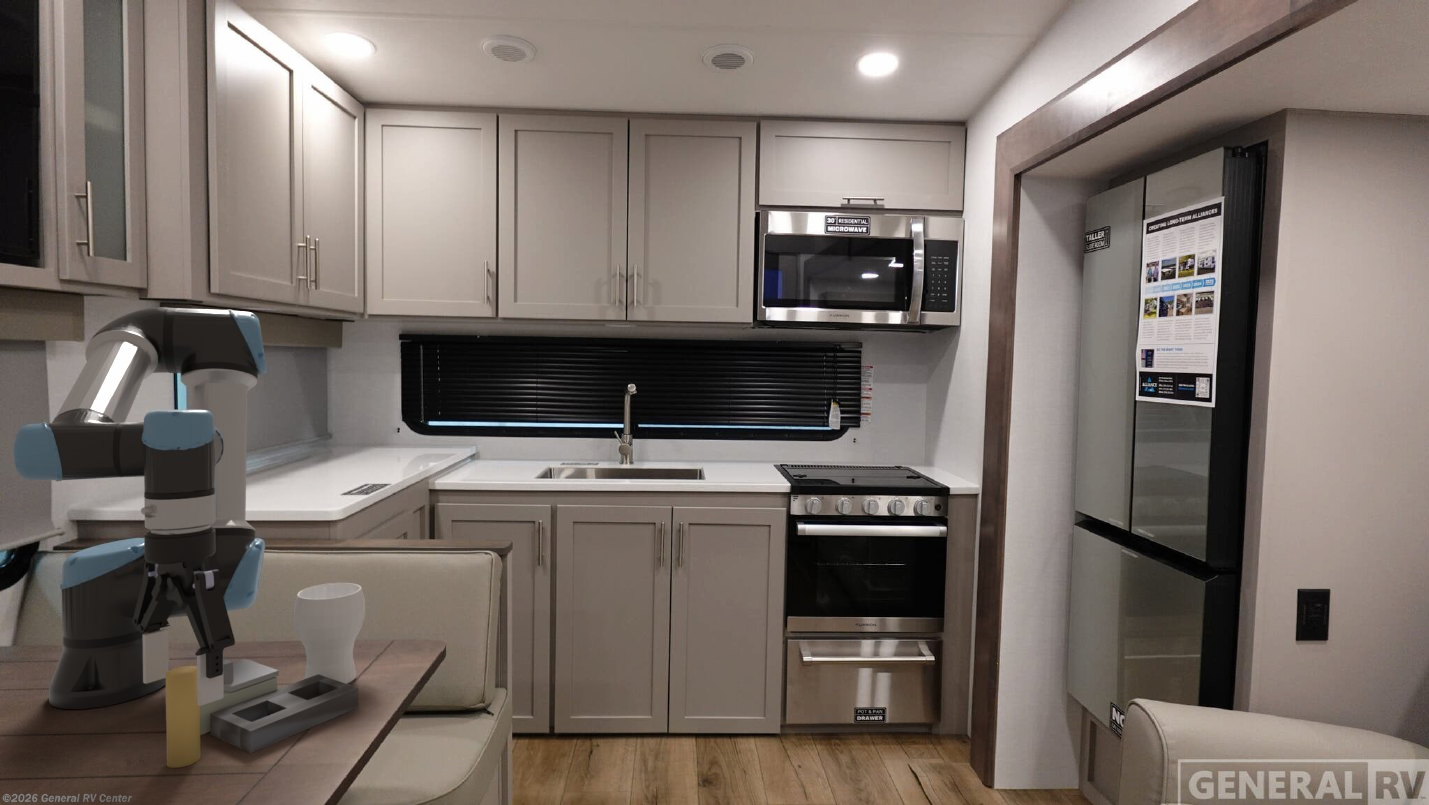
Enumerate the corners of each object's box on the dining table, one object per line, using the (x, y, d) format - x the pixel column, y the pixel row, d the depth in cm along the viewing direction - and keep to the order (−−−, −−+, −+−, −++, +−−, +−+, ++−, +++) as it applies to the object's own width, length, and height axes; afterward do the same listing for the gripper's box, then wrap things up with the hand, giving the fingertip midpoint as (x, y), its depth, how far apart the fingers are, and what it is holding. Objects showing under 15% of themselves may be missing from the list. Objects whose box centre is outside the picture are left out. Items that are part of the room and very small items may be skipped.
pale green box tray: (166, 720, 109) (165, 690, 109) (244, 692, 119) (243, 665, 119) (198, 735, 105) (198, 705, 105) (277, 705, 114) (276, 677, 114)
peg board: (210, 734, 105) (210, 713, 105) (318, 692, 119) (318, 674, 119) (250, 753, 100) (250, 731, 100) (358, 707, 114) (358, 688, 114)
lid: (197, 679, 113) (197, 654, 113) (245, 663, 119) (245, 640, 119) (230, 692, 108) (230, 666, 108) (278, 675, 114) (278, 651, 114)
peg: (161, 763, 97) (160, 672, 97) (191, 751, 101) (190, 663, 100) (175, 770, 96) (174, 678, 95) (206, 758, 99) (205, 669, 98)
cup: (336, 696, 118) (335, 602, 117) (278, 690, 120) (277, 597, 119) (379, 670, 128) (378, 584, 128) (325, 665, 130) (324, 579, 130)
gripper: (100, 523, 100) (102, 681, 100) (200, 544, 88) (202, 723, 88) (164, 515, 106) (165, 662, 107) (265, 533, 94) (266, 700, 95)
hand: (182, 690), depth 97 cm, fingers open, 13 cm apart
